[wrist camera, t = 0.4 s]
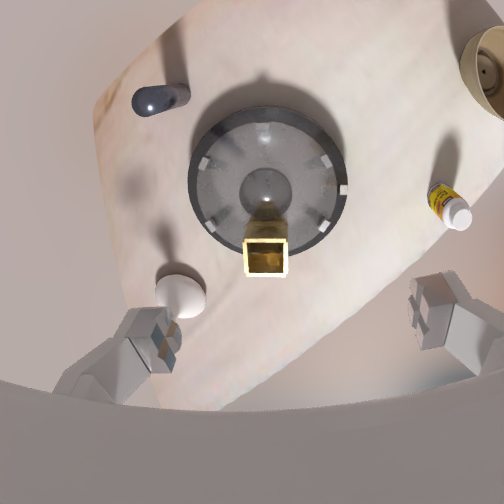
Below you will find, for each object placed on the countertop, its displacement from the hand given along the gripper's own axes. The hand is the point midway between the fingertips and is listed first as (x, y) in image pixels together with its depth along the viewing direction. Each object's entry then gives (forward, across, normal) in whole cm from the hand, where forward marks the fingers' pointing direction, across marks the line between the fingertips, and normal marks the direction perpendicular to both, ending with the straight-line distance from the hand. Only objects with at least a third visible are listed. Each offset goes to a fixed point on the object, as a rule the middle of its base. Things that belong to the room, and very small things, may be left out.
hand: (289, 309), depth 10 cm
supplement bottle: (+45, -26, +17) cm, 55 cm away
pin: (+45, +16, -8) cm, 48 cm away
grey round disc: (+40, +5, +10) cm, 42 cm away
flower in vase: (+45, +28, +30) cm, 61 cm away
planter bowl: (+45, -37, -7) cm, 59 cm away
